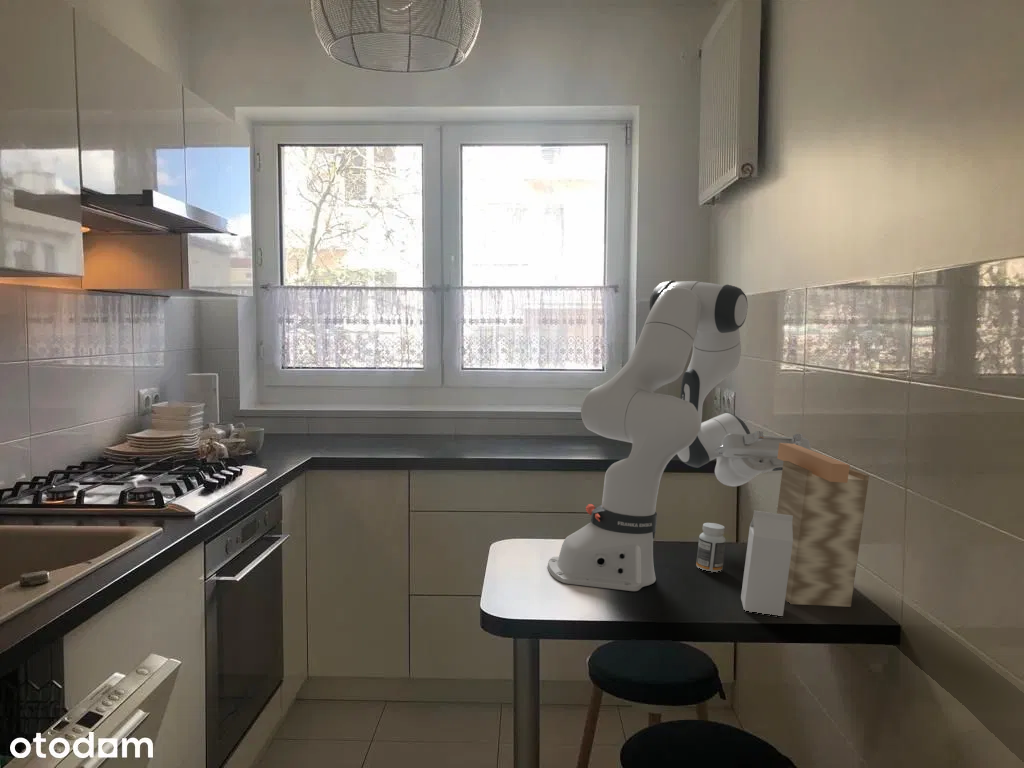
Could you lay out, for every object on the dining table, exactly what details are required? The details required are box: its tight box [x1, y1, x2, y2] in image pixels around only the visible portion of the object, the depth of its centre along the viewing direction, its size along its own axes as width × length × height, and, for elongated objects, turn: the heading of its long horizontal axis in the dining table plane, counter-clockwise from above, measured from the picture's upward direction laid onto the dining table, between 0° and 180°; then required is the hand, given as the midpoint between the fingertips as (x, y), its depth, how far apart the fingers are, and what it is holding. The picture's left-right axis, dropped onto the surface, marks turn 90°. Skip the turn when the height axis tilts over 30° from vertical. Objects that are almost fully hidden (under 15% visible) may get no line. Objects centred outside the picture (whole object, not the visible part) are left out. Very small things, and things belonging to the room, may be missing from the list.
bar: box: [777, 443, 851, 483], centre depth 158 cm, size 4×22×4 cm, turn 7°
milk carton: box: [740, 510, 793, 617], centre depth 148 cm, size 7×7×19 cm
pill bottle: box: [695, 522, 727, 573], centre depth 170 cm, size 6×6×10 cm
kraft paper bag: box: [776, 461, 870, 608], centre depth 157 cm, size 13×10×27 cm
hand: (780, 435), depth 172 cm, fingers open, 8 cm apart
